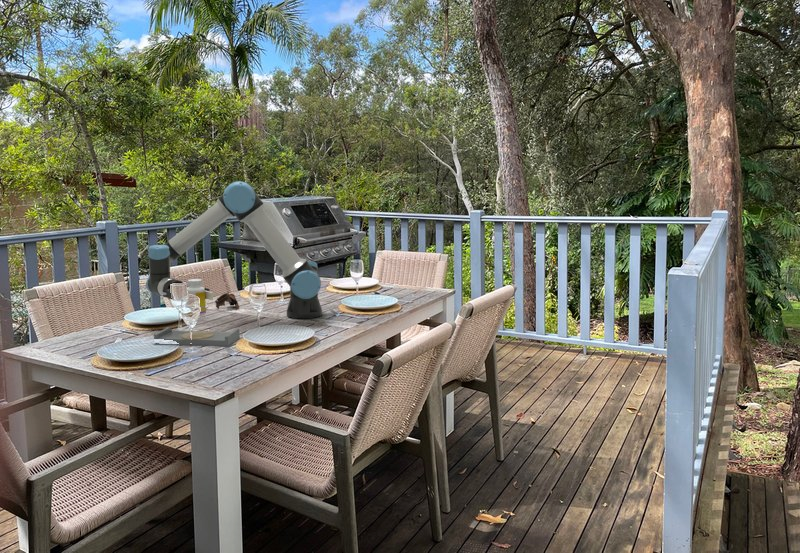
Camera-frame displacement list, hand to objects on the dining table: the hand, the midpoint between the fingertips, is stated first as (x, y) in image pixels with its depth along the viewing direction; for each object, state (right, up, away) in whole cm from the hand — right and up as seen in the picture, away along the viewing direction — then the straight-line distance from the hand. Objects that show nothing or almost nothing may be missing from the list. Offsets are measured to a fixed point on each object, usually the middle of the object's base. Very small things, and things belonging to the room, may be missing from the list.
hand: (202, 297), depth 227 cm
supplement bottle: (-4, -7, +5) cm, 9 cm away
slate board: (-4, -16, +6) cm, 17 cm away
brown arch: (-7, -7, +63) cm, 64 cm away
